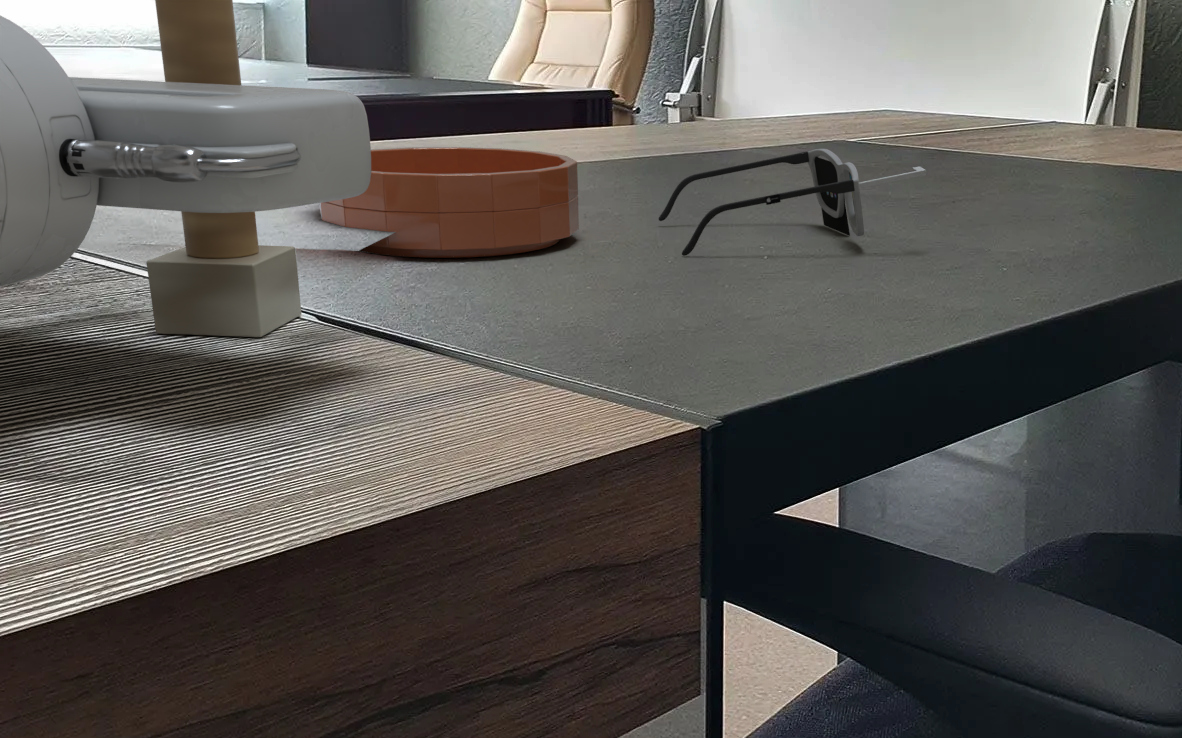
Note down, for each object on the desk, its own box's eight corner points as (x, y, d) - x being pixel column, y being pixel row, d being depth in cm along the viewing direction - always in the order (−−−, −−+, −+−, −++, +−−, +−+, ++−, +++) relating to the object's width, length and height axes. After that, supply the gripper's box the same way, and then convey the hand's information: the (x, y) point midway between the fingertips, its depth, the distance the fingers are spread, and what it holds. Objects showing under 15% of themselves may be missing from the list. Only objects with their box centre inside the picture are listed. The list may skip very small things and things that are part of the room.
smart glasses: (937, 246, 79) (927, 158, 77) (691, 298, 77) (674, 209, 75) (882, 210, 90) (871, 132, 88) (664, 255, 88) (649, 176, 86)
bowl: (283, 256, 74) (274, 169, 72) (372, 217, 87) (366, 144, 86) (548, 265, 73) (545, 178, 72) (597, 225, 87) (595, 151, 85)
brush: (155, 333, 57) (102, -62, 52) (203, 311, 61) (158, -58, 56) (261, 337, 56) (218, -59, 51) (302, 314, 61) (266, -55, 56)
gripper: (219, 59, 41) (447, 48, 53) (-330, 35, 45) (0, 30, 58) (243, 274, 43) (456, 214, 55) (-284, 231, 47) (24, 184, 60)
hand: (219, 120), depth 57 cm, fingers open, 8 cm apart
